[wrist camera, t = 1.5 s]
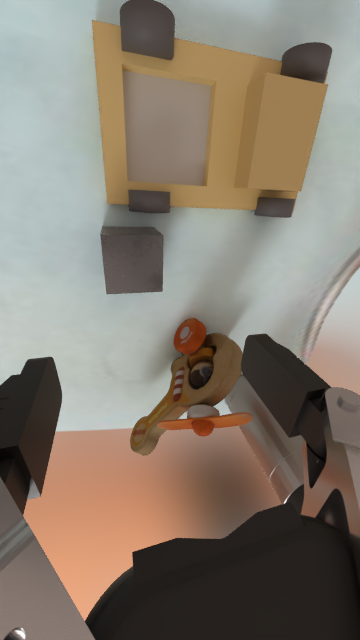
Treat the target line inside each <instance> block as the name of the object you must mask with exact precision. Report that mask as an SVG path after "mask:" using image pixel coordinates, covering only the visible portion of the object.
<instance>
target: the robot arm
mask: <svg viewBox="0 0 360 640" xmlns="http://www.w3.org/2000/svg"><path fill="white" fill-rule="evenodd" d="M241 369H242V373H243V375H241V376H240V377H239V378H238V380H237V382H236V384H235V386H234V387H233V389H232V390H231V391H230V393H229V394H228V395H227V396H226V397H225V401H226V403H227V405H228V407H229V409H230V411H231V413H232V414H234V413H238V412H246V413H249V414H251V415H252V416H253V420H252V421H251V422H249V423H247V424H244V425H238V426H239V427H240V429H241V431H242V433H243V435H244V437H245V438H246V440H247V442H248V444H249V446H250V448H251V449H252V451H253V453H254V455H255V457H256V459H257V460H258V462H259V464H260V466H261V468H262V469H263V472H264V473H265V475H266V477H267V479H268V481H269V482H270V484H271V486H272V488H273V490H274V492H275V493H276V495H277V497H278V499H279V501H280V503H281V504H282V505H279V506H276V507H273V508H269V509H267V510H263V511H260V512H257V513H256V514H255V515H253V516H252V517H251V518H249V519H248V520H247V521H246V522H245V523H243V524H242V525H241V526H240V527H238V528H237V529H236V530H234V531H233V532H232V533H231V534H229V535H228V536H227V537H225V538H223V539H193V538H175V539H172V540H169V541H166V542H163V543H160V544H157V545H153V546H150V547H147V548H144V549H141V550H138V551H135V552H133V567H131V568H130V569H128V570H127V571H126V572H124V573H123V574H122V575H121V576H120V577H119V578H118V579H116V580H115V581H114V582H113V583H112V584H111V585H110V587H109V588H108V589H107V590H106V591H105V592H104V594H103V595H102V596H101V597H100V599H99V600H98V602H97V603H96V604H95V606H94V607H93V609H92V610H91V612H90V613H89V615H88V617H87V619H86V620H85V621H84V620H83V618H82V616H81V615H80V613H79V611H78V609H77V608H76V606H75V604H74V603H73V601H72V599H71V597H70V596H69V594H68V592H67V590H66V589H65V587H64V585H63V583H62V582H61V580H60V578H59V577H58V575H57V573H56V571H55V570H54V568H53V566H52V565H51V563H50V561H49V559H48V558H47V556H46V555H45V552H44V551H43V549H42V547H41V545H40V544H39V542H38V540H37V539H36V537H35V535H34V533H33V532H32V530H31V528H30V527H29V525H28V524H27V522H26V520H25V519H24V517H23V513H24V509H25V505H26V501H27V500H28V499H32V498H36V497H40V496H41V493H42V489H43V484H44V480H45V475H46V471H47V466H48V462H49V457H50V453H51V448H52V444H53V439H54V435H55V430H56V426H57V422H58V417H59V413H60V408H61V403H62V390H61V385H60V382H59V378H58V374H57V370H56V366H55V362H54V359H53V358H52V357H44V358H35V359H28V360H27V362H26V364H25V366H24V368H23V370H22V372H21V374H19V375H12V376H10V377H9V378H8V379H7V380H6V381H5V382H4V383H3V384H2V385H0V640H360V395H358V394H357V393H355V392H353V391H350V390H347V389H344V388H338V387H333V388H332V387H330V386H329V385H328V384H327V383H326V382H325V381H324V380H323V379H321V378H320V377H319V376H318V375H317V374H316V373H315V372H314V371H312V370H311V369H310V368H309V367H308V366H307V365H306V364H305V365H304V363H303V362H302V361H301V360H300V359H299V358H297V356H296V355H294V354H293V353H292V352H291V351H290V350H289V349H287V348H285V347H283V346H282V345H280V344H278V343H276V342H275V341H273V340H272V339H271V338H270V337H269V336H268V335H267V334H256V335H249V336H247V338H246V341H245V346H244V351H243V356H242V361H241Z"/></svg>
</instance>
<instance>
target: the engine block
mask: <svg viewBox="0 0 360 640" xmlns="http://www.w3.org/2000/svg"><path fill="white" fill-rule="evenodd" d="M101 245H102V254H103V264H104V273H105V283H106V292H107V294H121V293H142V292H162V289H163V235H162V234H161V233H160V232H159V231H158V230H156V229H155V228H154V227H105V226H102V230H101Z"/></svg>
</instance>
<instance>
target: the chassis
mask: <svg viewBox="0 0 360 640" xmlns="http://www.w3.org/2000/svg"><path fill="white" fill-rule="evenodd" d="M120 25H121V26H117V25H113V24H108V23H103V22H99V21H94V20H92V28H93V40H94V51H95V63H96V75H97V87H98V98H99V110H100V122H101V133H102V145H103V157H104V168H105V180H106V192H107V203H108V204H125V205H129V211H133V212H144V213H170V206H173V207H197V208H221V209H245V210H255V213H254V215H259V216H269V217H291V215H292V211H293V209H294V205H295V201H296V197H297V193H298V191H301V189H302V185H303V181H304V177H305V174H306V170H307V166H308V162H309V158H310V154H311V150H312V146H313V142H314V138H315V134H316V130H317V126H318V122H319V118H320V114H321V110H322V106H323V103H324V99H325V95H326V91H327V87H328V85H327V84H325V81H326V77H327V73H328V72H327V70H328V66H329V62H330V58H331V54H332V48H331V47H330V46H329V45H327V44H324V43H317V42H313V43H305V44H300V45H297V46H295V47H292V48H291V49H289V50H287V51H286V52H285V53H284V55H283V57H282V62H281V61H277V60H272V59H268V58H263V57H259V56H254V55H249V54H245V53H240V52H236V51H231V50H227V49H222V48H217V47H213V46H208V45H204V44H199V43H195V42H190V41H186V40H181V39H176V38H174V29H175V18H174V15H173V13H172V12H171V11H170V10H169V9H168V8H167V7H166V6H165V5H163V4H161V3H159V2H157V1H154V0H130V1H127V2H126V3H124V4H123V5H122V7H121V9H120Z"/></svg>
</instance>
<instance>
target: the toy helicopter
mask: <svg viewBox="0 0 360 640" xmlns="http://www.w3.org/2000/svg"><path fill="white" fill-rule="evenodd" d="M174 346H175V348H176V349H177V350H178V351H180V352H181V353H183V354H184V355H183V356H182V357H181V358H179V359H177V360H175V361H174V362H173V363H172V365H171V372H172V380H171V384H170V389H169V391H168V393H167V394H166V396H165V397H164V398H163V399H162V400H161V402H160V403H159V404H158V405H157V406H156V407H155V409H154V410H153V411H152V412H151V413H150V414H149V415H148V416H146V417H142V418H141V419H139V420H138V422H137V423H136V424H135V426H134V428H133V431H132V434H131V439H130V444H131V448H132V450H133V451H134V452H136V453H139V454H142V455H148V454H150V453H151V452H152V451H153V450H154V448H155V447H156V445H157V442H158V440H159V438H160V436H161V435H162V434H163V433H164V432H165V431H166V430H178V429H179V430H180V429H193V430H194V432H195V433H196V434H197V435H199V436H208V435H209V434H210V433H211V432H212V431H213V428H223V427H231V426H238V425H244V424H247V423H249V422H251V421H252V420H253V416H252V415H251V414H249V413H246V412H238V413H234V414H228V415H222V416H219V411H218V410H217V409H216V408H214V407H213V406H215V405H216V404H218V403H219V402H220V401H222V400H223V399H224V398H225V397H226V396H227V395H228V394H229V393H230V391H231V390H232V389H233V387H234V386H235V384H236V382H237V380H238V378H239V377H240V374H241V371H242V369H241V361H242V356H243V354H242V351H241V349H240V347H239V346H238V345H237V344H236V343H235V342H234V341H233V340H231V339H230V338H228V337H226V336H225V335H222V334H218V333H213V334H208V335H206V327H205V325H204V324H203V323H202V322H200V321H199V320H197V319H195V318H191V319H188V320H186V321H185V322H183V323H182V324H181V326H180V327H179V328H178V330H177V332H176V334H175V337H174ZM186 411H188V413H187V419H178V418H179V417H180V416H181V415H182V414H183V413H185V412H186Z"/></svg>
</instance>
